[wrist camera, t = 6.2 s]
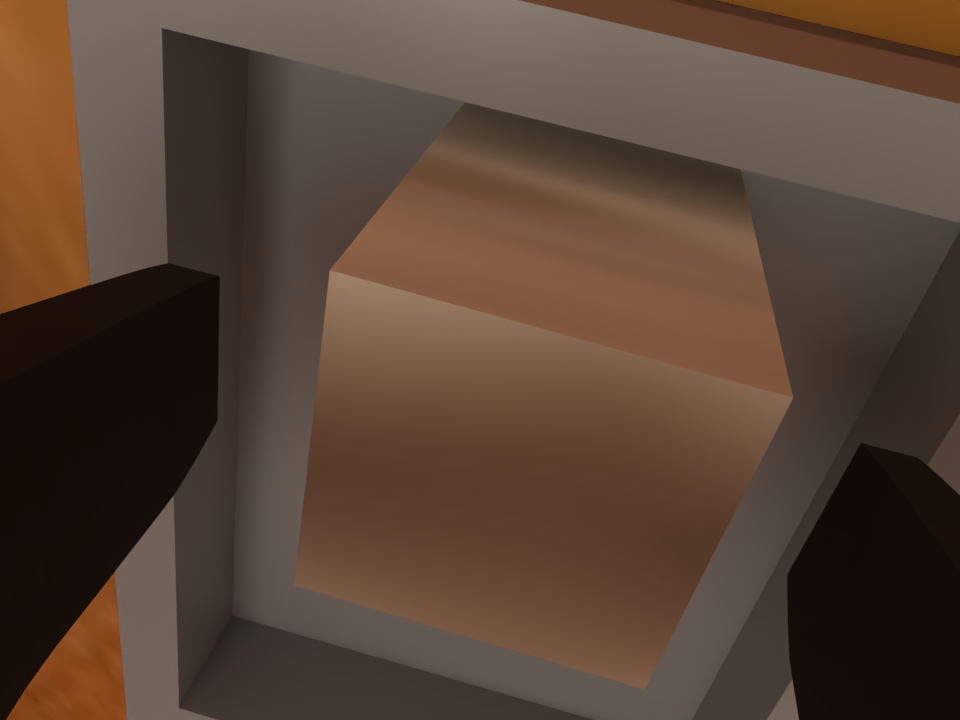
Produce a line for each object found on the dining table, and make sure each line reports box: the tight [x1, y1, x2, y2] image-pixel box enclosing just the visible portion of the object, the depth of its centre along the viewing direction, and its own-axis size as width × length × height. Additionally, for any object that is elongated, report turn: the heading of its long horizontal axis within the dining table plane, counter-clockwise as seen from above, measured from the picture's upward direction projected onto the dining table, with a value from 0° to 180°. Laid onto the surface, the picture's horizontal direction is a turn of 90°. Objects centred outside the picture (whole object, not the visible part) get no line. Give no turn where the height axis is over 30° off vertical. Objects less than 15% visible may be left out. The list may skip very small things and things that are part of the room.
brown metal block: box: [294, 102, 793, 690], centre depth 11 cm, size 4×4×6 cm
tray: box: [67, 0, 960, 720], centre depth 15 cm, size 16×13×4 cm
